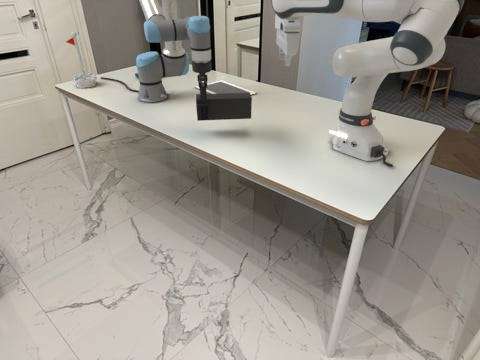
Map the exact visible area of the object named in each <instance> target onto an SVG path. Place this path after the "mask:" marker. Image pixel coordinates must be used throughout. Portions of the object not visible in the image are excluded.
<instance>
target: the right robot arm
mask: <svg viewBox="0 0 480 360" xmlns="http://www.w3.org/2000/svg"><path fill="white" fill-rule="evenodd" d="M464 3H465V0H271V8H272V10H273V12H274V13H275V15H274V16H275V17H274V28H275V29H276V37H275V43H276V44H275V45H276V46H277V47H278V51H279V59H280V60H281V61H284V66H286V67H290V66H291V64H292V63H291V62H292V60H293V56H296V55H297V53H298V51H299V45H300V44H299V43H300V32H302V29H303V26H302V23H301V22H302V21H301V17H303V16H304V17H305V16H311V15H316V14H325V15H330V16H335V17H341V18H345V19H350V20H354V21H359V22H369V23H388V22H395V23H396V24H399V25H400V26H399V28H398V30H397V32H395V34H394V35H393V36H389V37H384V38H378V39H374V40H368V41H361V42H357V43H353V44H349V45H345V46H342V47H339V48H337V49H336V51H334V53H333V55H332V58H331V67H332V71H333V72H334V74H335V75H336V76H338V77H343V78H355V79H354V81H353V82H352V83H350V84H349V85H348V86H347V87H346V88H345V89H344V92H343V98H342V103H341V108H340V109H339V113H338V122H337V123H338V124H337V127H336V130H335V131H334V130H331V129H329V131H328V132H329V133H330V134H333V137H332V139H331V144H332V149H333V150H334V151H336V152H340V153H343V154H344V155H345V154H346V155H348V156H351V157H354V158H356V159H359V160H361V161H365V162H374V161H379V160H381V159H382V163H383V164H384V165H385V166H388V167H391V168H392V167H394V165H393V163H390V162H387V161H386V160H387V155H388V154H389V152H390V150H389V148H387V147H386V146H385V138H384V135H383V134H382V133H381V131H379V128H377V126H376V125H375V124H374V121H375V120H376V119H377V116H373V113H372V109H373V104H374V101H375V97H376V94H377V92H378V89H380V85H381V84H382V83H383V81H384V80H385V78H386V77H387V76H388V75H389V74H393V73H403V72H411V71H416V70H422V69H424V68H427V67H430V66H432V65H435V64H436V63H438V62H439V61H440V60H441V59H442V58H443V56H444V54H445V51H446V41H445V37H446V36H447V34H448V32H449V30H450V28H451V27H452V25H453V23H454V21H455V20H456V18H457V17H458V16H459V14H460V13H461V11H462V10H463V6H464Z"/></svg>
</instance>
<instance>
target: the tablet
mask: <svg viewBox="0 0 480 360" xmlns="http://www.w3.org/2000/svg"><path fill="white" fill-rule="evenodd" d="M194 88H195V89H198V90H200V88H199V85H196V86H194ZM206 93H207V94H220V93H250V94H251V96H253V95H256V94H257V93H258V92H256V91H253V90H250V89H247V88H244V87H243V86H239V85H237V84H234V83H231V82H229V81H225V80H223V79H221V80H216V81H213V82H207V88H206Z"/></svg>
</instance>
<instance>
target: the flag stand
mask: <svg viewBox="0 0 480 360" xmlns="http://www.w3.org/2000/svg"><path fill="white" fill-rule="evenodd" d="M70 35H71V38H69V39H68V40H66V41H65V43H67V44H69V45H73V46H75V50H76V54H77V58H78V62H79V66H80V70H81V73H78V74H77V75H76V74H75V75H73V76H72V80H73V82H74V83H75V84H76V87H77V88H79V89H80V88H81V89H87V88H93V87H95V86H96V85H97V81H98V77H97V74H96V73H92V72H85V68H84V67H85V66H84V63H83V59H82V55H81V51H80V47H79V42H78V39H77V36H78V34H77V32H76V31H71V32H70Z"/></svg>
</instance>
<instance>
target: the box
mask: <svg viewBox="0 0 480 360" xmlns="http://www.w3.org/2000/svg"><path fill="white" fill-rule="evenodd" d="M199 104H201V97H200V93H195V106H196V119H197V121H198V122H200V121H204V120H202V118H201V106H199ZM252 105H253V98H252V95H251V94H250V93H220V94H210V93H207V107H208V120H207V121H222V120H223V121H225V120H226V121H227V120H247V119H248V120H250V119H252Z"/></svg>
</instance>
